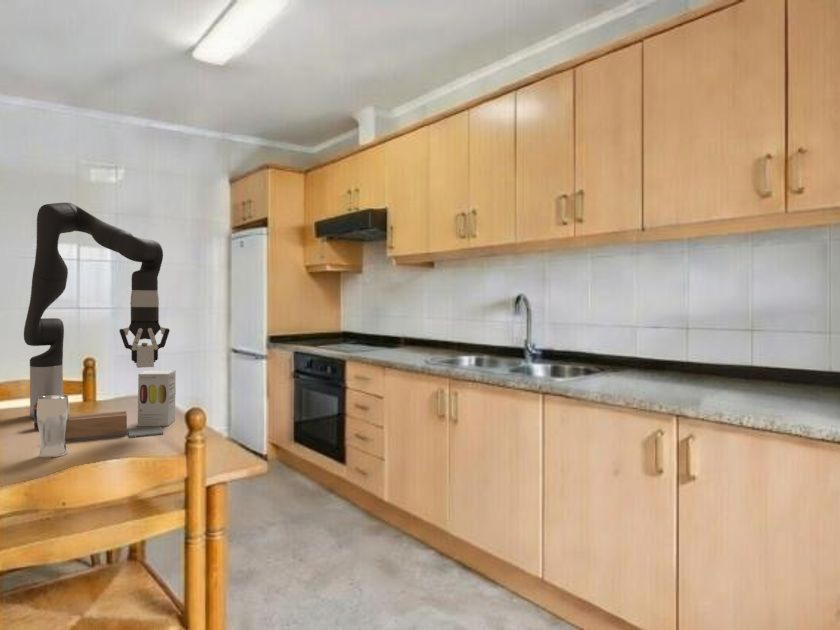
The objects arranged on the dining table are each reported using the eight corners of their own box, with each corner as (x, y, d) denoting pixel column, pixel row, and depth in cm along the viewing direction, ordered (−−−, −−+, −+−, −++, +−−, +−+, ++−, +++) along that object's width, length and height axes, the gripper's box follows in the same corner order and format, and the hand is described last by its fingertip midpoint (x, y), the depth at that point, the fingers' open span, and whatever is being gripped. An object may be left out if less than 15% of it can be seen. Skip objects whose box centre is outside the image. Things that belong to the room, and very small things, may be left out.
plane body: (54, 437, 157) (54, 416, 157) (126, 430, 166) (126, 410, 166) (52, 442, 150) (52, 421, 150) (127, 435, 160) (127, 415, 159)
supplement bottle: (57, 427, 169) (57, 396, 168) (40, 430, 164) (40, 399, 164) (47, 425, 171) (47, 395, 170) (30, 428, 166) (30, 397, 166)
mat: (128, 430, 166) (128, 428, 166) (160, 427, 170) (160, 425, 170) (129, 437, 157) (129, 435, 157) (163, 434, 161) (163, 432, 161)
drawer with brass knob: (137, 367, 158) (137, 344, 158) (136, 364, 165) (136, 342, 165) (153, 366, 160) (153, 344, 160) (152, 364, 167) (152, 342, 167)
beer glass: (44, 460, 135) (44, 400, 134) (31, 455, 138) (31, 397, 138) (74, 453, 141) (74, 396, 140) (61, 449, 144) (61, 393, 144)
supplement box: (136, 426, 170) (136, 373, 170) (145, 420, 179) (145, 369, 179) (169, 425, 172) (169, 373, 172) (176, 419, 181) (176, 369, 181)
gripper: (117, 305, 155) (117, 364, 156) (172, 305, 163) (172, 362, 163) (117, 305, 162) (117, 362, 162) (169, 305, 169) (169, 360, 170)
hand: (144, 362), depth 163 cm, fingers closed on drawer with brass knob, 4 cm apart
